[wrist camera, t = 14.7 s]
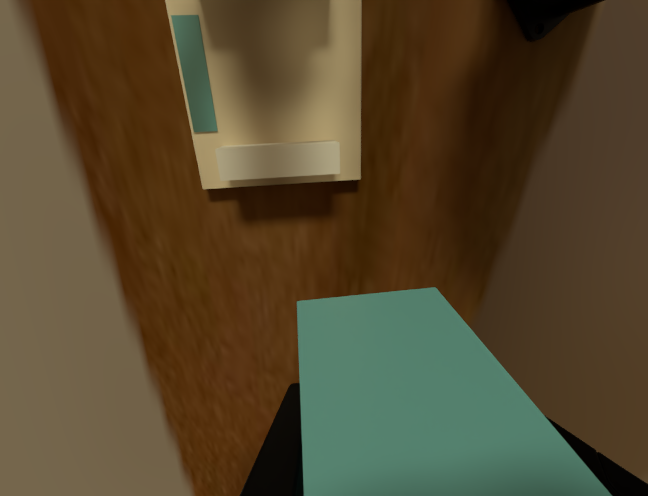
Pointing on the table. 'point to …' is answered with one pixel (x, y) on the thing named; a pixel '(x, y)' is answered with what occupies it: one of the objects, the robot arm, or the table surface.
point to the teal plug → (419, 407)
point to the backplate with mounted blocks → (271, 89)
